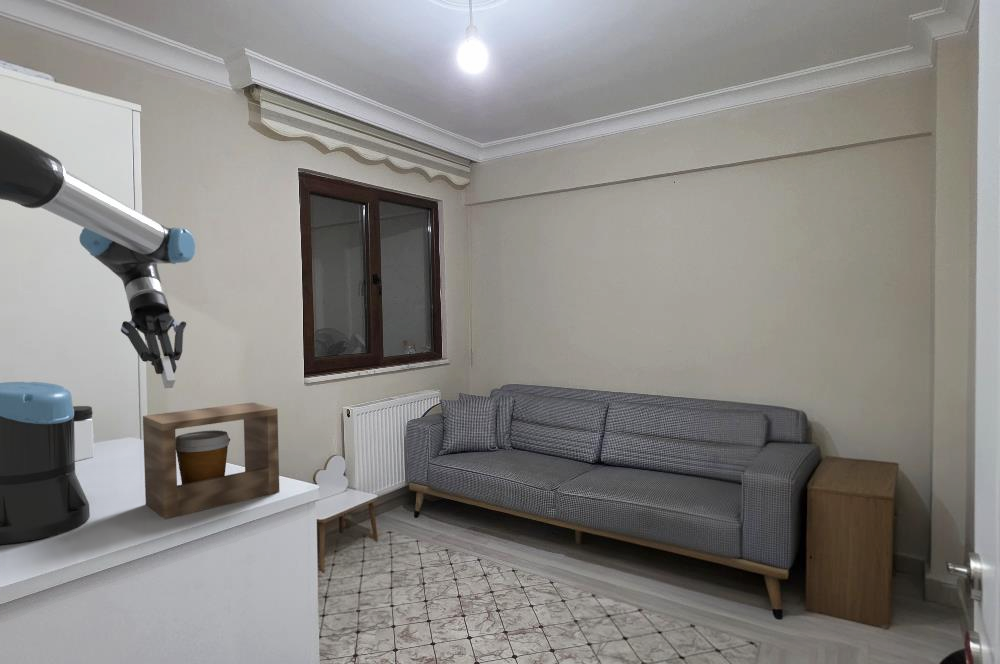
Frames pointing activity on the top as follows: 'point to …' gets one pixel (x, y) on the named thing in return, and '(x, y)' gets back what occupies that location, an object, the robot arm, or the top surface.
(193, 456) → the disposable coffee cup
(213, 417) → the walnut shelf
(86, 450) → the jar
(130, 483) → the top surface
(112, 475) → the top surface
